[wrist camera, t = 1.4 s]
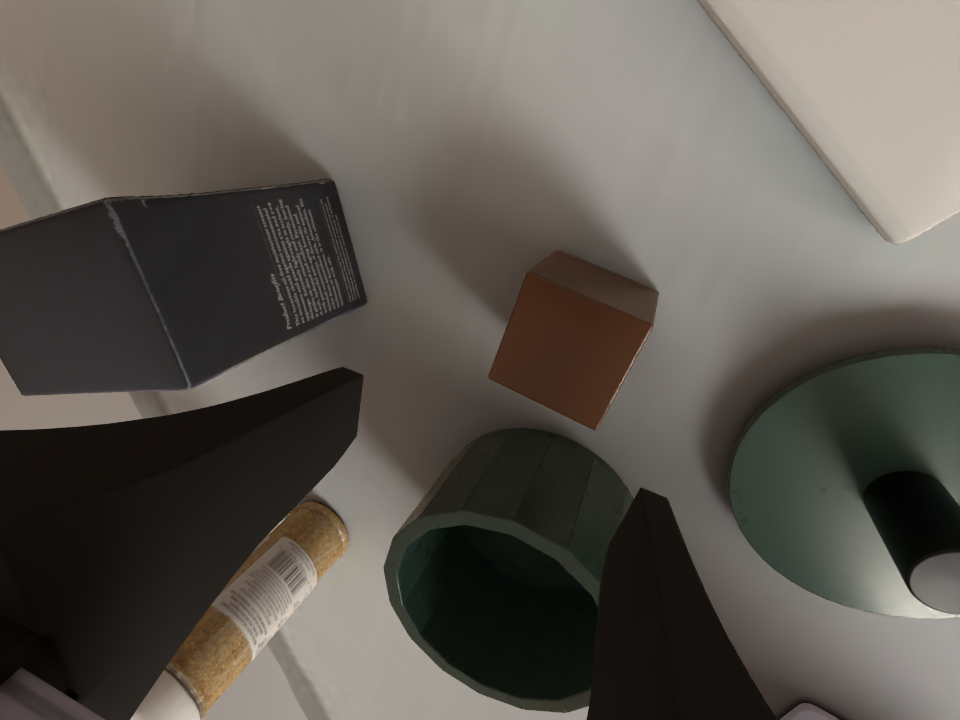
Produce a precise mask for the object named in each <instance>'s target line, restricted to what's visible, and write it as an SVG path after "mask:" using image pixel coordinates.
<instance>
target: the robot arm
mask: <svg viewBox="0 0 960 720" xmlns="http://www.w3.org/2000/svg"><path fill="white" fill-rule="evenodd" d="M363 377H364V375H362V374H360V373H357V372H355V371H352V370H350V369H348V368H345V367H340V368H337V369H333V370H330V371H327V372H324V373H320V374H317V375H314V376H311V377H308V378H305V379H302V380H299V381H296V382H293V383H290V384H287V385H284V386H281V387H278V388H275V389H271V390H268V391H265V392H262V393H258V394H255V395H251V396H247V397H244V398H240V399H237V400H233V401H229V402H226V403H222V404H218V405H214V406H210V407H206V408H201V409H197V410H192V411H187V412H182V413H177V414H172V415H166V416H160V417H153V418H146V419H139V420H132V421H126V422H118V423H110V424H101V425H91V426H81V427H67V428H54V429H37V430H4V431H0V720H130V719H131V718H132V716H133V715H134V713H135V712H136V710H137V709H138V707H139V706H140V704H141V703H142V701H143V700H144V698H145V697H146V696H147V694H148V693H149V691H150V690H151V688H152V687H153V685H154V684H155V682H156V681H157V680H158V678H159V677H160V675H161V674H162V672H163V671H164V669H165V668H166V666H167V665H168V664H169V662H170V661H171V659H172V658H173V656H174V655H175V654H176V652H177V651H178V649H179V648H180V647H181V645H182V644H183V643H184V641H185V640H186V638H187V637H188V636H189V634H190V633H191V632H192V630H193V629H194V627H195V626H196V625H197V623H198V622H199V621H200V619H201V618H202V616H203V615H204V614H205V612H206V611H207V610H208V609H209V607H210V606H211V605H212V603H213V602H214V601H215V599H216V598H217V597H218V596H219V594H220V593H221V592H222V590H223V589H224V588H225V586H226V585H227V584H228V582H229V581H230V580H231V579H232V577H233V576H234V575H235V574H236V572H237V571H238V570H239V569H240V567H241V566H242V565H243V564H244V562H245V561H246V560H247V559H248V557H249V556H250V555H251V554H252V552H253V551H254V550H255V549H256V548H257V546H258V545H259V544H260V543H261V542H262V541H263V539H264V538H265V537H266V536H267V535H268V534H269V533H270V532H271V531H272V529H273V528H274V527H275V526H276V525H277V524H278V523H279V522H280V521H281V520H282V519H283V518H284V517H285V516H286V515H287V514H288V513H289V512H290V511H291V510H292V509H293V508H294V507H295V506H296V505H297V504H298V503H299V502H300V501H301V500H302V499H303V498H304V497H305V496H306V495H307V494H308V493H309V492H310V491H311V490H312V489H313V488H314V487H315V486H316V485H317V484H318V483H319V482H320V480H321V479H322V478H323V477H324V476H325V475H326V474H327V473H328V472H329V471H330V470H331V469H332V468H333V467H334V466H335V464H336V463H337V462H338V461H339V459H340V458H341V457H342V455H343V454H344V453H345V451H346V450H347V449H348V447H349V446H350V444H351V443H352V442H353V440H354V439H355V438H356V436H357V429H358V420H359V412H360V403H361V394H362V386H363ZM587 720H777V718H776V717H775V715H774V714H773V712H772V710H771V709H770V707H769V706H768V704H767V703H766V701H765V699H764V698H763V696H762V695H761V693H760V691H759V690H758V688H757V686H756V685H755V683H754V681H753V680H752V678H751V676H750V675H749V673H748V671H747V669H746V668H745V666H744V664H743V663H742V661H741V659H740V657H739V656H738V654H737V652H736V650H735V649H734V647H733V645H732V643H731V641H730V640H729V638H728V636H727V634H726V632H725V630H724V628H723V626H722V624H721V622H720V620H719V618H718V616H717V614H716V612H715V610H714V608H713V606H712V604H711V602H710V600H709V597H708V595H707V593H706V591H705V589H704V586H703V584H702V582H701V580H700V577H699V575H698V573H697V571H696V568H695V566H694V564H693V561H692V559H691V557H690V554H689V552H688V549H687V547H686V544H685V542H684V539H683V537H682V534H681V532H680V529H679V527H678V524H677V521H676V519H675V516H674V514H673V511H672V508H671V506H670V503H669V501H668V499H667V498H666V497H663V496H661V495H658V494H656V493H653V492H651V491H648V490H646V489H643V488H640V489H639V491H638V493H637V495H636V497H635V498H634V500H633V502H632V504H631V506H630V507H629V509H628V511H627V513H626V515H625V516H624V518H623V520H622V522H621V523H620V525H619V527H618V529H617V531H616V532H615V534H614V536H613V538H612V540H611V541H610V543H609V545H608V550H607V554H606V559H605V563H604V568H603V573H602V578H601V583H600V591H599V602H598V613H597V625H596V637H595V650H594V662H593V674H592V686H591V695H590V703H589V710H588V716H587ZM780 720H840V719H838V718H836V717H834V716H833V715H831V714H829V713H827V712H825V711H824V710H822V709H820V708H818V707H816V706H815V705H812V704H809V703H802V704H799V705H798V706H796V707H795V708H794V709H793V710H791V711H790V712H789V713H787V714H786V715H785V716H784V717H782V718H781V719H780Z"/></svg>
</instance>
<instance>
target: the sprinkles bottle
mask: <svg viewBox="0 0 960 720" xmlns="http://www.w3.org/2000/svg"><path fill="white" fill-rule="evenodd" d="M348 543H349V538H348V532H347V530H346V528H345V526H344V524H343V523H342V521H341V520H340V518H338V517H337V515H335V514H334V513H333V512H332V511H331V510H330V509H328V508H327V507H325V506H323V505H321V504H318V503H315V502H305V503H302V504H300V505H299V506H297V507H296V508H295V509H294V510H293V512H292V513H291V515H290V516H289V517H288V518H287V519H285V520H284V521H283V522H282V523H281V524H280V525H279V526H278V527H276V528H275V529H274V530H273V531H272V532H271V533H270V534H269V535H268V536H267V537H265V538H264V539H263V541H262V542H261V543H260V544H259V545H258V546H257V548H256V549H255V550H254V551H253V552H252V554H251V555H250V556H249V557H248V559H247V560H246V561H245V562H244V564H243V565H242V566H241V567H240V569H239V570H238V571H237V572H236V574H235V575H234V576H233V577H232V579H231V580H230V581H229V582H228V584H227V585H226V586H225V588H224V589H223V590H222V592H221V593H220V594H219V596H218V597H217V598H216V599H215V601H214V602H213V603H212V605H211V606H210V607H209V609H208V610H207V611H206V612H205V614H204V615H203V616H202V618H201V619H200V621H199V622H198V623H197V625H196V626H195V627H194V629H193V630H192V632H191V633H190V634H189V636H188V637H187V638H186V640H185V641H184V643H183V644H182V645H181V647H180V648H179V649H178V651H177V652H176V654H175V655H174V656H173V658H172V659H171V661H170V662H169V664H168V665H167V666H166V668H165V669H164V671H163V672H162V674H161V675H160V677H159V678H158V680H157V681H156V682H155V684H154V685H153V687H152V688H151V690H150V691H149V693H148V694H147V696H146V697H145V698H144V700H143V701H142V703H141V704H140V706H139V707H138V709H137V710H136V712H135V713H134V715H133V716H132V718H131V719H130V720H202V719H203V718H205V716H206V714H207V711H208V710H209V709H210V708H211V706H212V705H213V704H214V702H215V701H216V700H217V699H218V698H219V697H220V696H221V695H222V694H223V692H224V691H225V690H226V689H227V688H228V686H229V685H230V684H231V683H232V682H233V681H234V680H235V678H236V677H237V676H238V675H239V674H240V673H241V672H242V670H243V669H244V668H245V667H246V666H247V665H248V664H249V663H250V662H251V661H252V660H253V659H254V658H255V657H256V655H257V654H258V653H259V652H260V651H261V650H262V649H263V647H264V646H265V645H266V644H267V643H268V641H269V640H270V639H271V638H272V637H273V636H274V634H275V633H276V632H277V631H278V630H279V629H280V627H281V626H282V625H283V624H284V623H285V622H286V620H287V619H288V618H289V617H290V616H291V615H292V613H293V612H294V611H295V610H296V609H297V608H298V606H299V605H300V604H301V603H302V602H303V600H304V599H305V598H306V597H307V596H308V595H309V593H310V592H311V591H312V590H313V589H314V587H315V586H316V584H317V583H318V581H319V580H320V579H321V578H322V577H323V575H324V574H325V573H326V572H327V570H328V569H329V568H330V567H331V566H332V565H333V564H334V562H335V561H336V560H337V559H338V558H341V557H342V556H343V554H345V552H346V551H347V548H348Z"/></svg>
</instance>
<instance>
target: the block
mask: <svg viewBox="0 0 960 720" xmlns="http://www.w3.org/2000/svg"><path fill="white" fill-rule="evenodd" d="M658 295H659V292H658V291H656V290H653V289H651V288H649V287H646V286H644V285H641V284H639V283H637V282H634V281H632V280H629V279H627V278H625V277H622V276H620V275H617V274H615V273H612V272H610V271H608V270H605V269H603V268H600V267H598V266H596V265H593V264H591V263H588V262H586V261H584V260H581V259H579V258H576V257H574V256H572V255H569V254H567V253H564V252H562V251H560V250H556V251H555V252H554V253H552V254H551V255H550V256H548V257H547V258H546V259H544V260H543V261H541V262H540V263H539V264H537V265H536V266H535V267H533V268H532V269H531V270H529V271H528V272H527V273H526V276H525V279H524V281H523V284H522V287H521V289H520V292H519V295H518V298H517V300H516V303H515V306H514V308H513V311H512V314H511V316H510V319H509V322H508V324H507V327H506V330H505V332H504V335H503V338H502V341H501V343H500V346H499V349H498V351H497V354H496V357H495V359H494V362H493V365H492V367H491V370H490V373H489V376H488V378H489V379H491V380H493V381H495V382H497V383H499V384H501V385H503V386H505V387H507V388H509V389H511V390H513V391H515V392H517V393H520V394H522V395H524V396H526V397H528V398H530V399H532V400H534V401H536V402H538V403H540V404H542V405H544V406H546V407H548V408H550V409H552V410H554V411H556V412H558V413H560V414H562V415H565V416H567V417H569V418H571V419H573V420H575V421H577V422H579V423H581V424H583V425H585V426H587V427H589V428H591V429H593V430H597V429H598V427H599V426H600V424H601V422H602V420H603V418H604V416H605V415H606V413H607V411H608V409H609V407H610V405H611V404H612V402H613V400H614V398H615V396H616V394H617V393H618V391H619V389H620V387H621V385H622V383H623V381H624V380H625V378H626V376H627V374H628V372H629V370H630V369H631V367H632V365H633V363H634V361H635V359H636V358H637V356H638V354H639V352H640V350H641V348H642V347H643V345H644V343H645V341H646V339H647V337H648V336H649V334H650V332H651V330H652V328H653V324H654V318H655V313H656V307H657V301H658Z"/></svg>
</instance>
